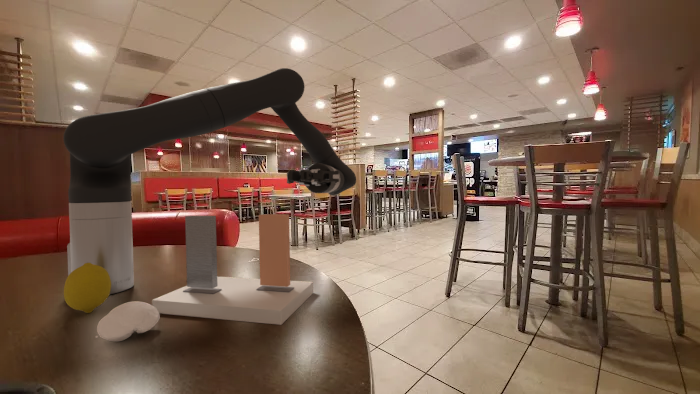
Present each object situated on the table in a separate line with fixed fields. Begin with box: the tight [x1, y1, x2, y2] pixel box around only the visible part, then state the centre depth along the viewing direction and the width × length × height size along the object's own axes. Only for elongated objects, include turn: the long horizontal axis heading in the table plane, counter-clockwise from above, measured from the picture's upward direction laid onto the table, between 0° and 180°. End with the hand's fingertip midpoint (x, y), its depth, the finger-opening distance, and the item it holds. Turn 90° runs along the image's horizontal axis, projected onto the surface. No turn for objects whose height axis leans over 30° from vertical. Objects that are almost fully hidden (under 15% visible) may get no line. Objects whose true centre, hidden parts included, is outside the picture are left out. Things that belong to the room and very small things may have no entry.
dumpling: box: [95, 300, 161, 342], centre depth 38 cm, size 7×5×4 cm
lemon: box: [63, 263, 111, 314], centre depth 45 cm, size 6×6×8 cm
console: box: [151, 275, 314, 326], centre depth 49 cm, size 22×13×2 cm, turn 77°
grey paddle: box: [184, 215, 218, 288], centre depth 49 cm, size 5×1×12 cm, turn 77°
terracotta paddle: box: [258, 213, 291, 287], centre depth 49 cm, size 5×1×12 cm, turn 77°
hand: (296, 175), depth 59 cm, fingers closed
